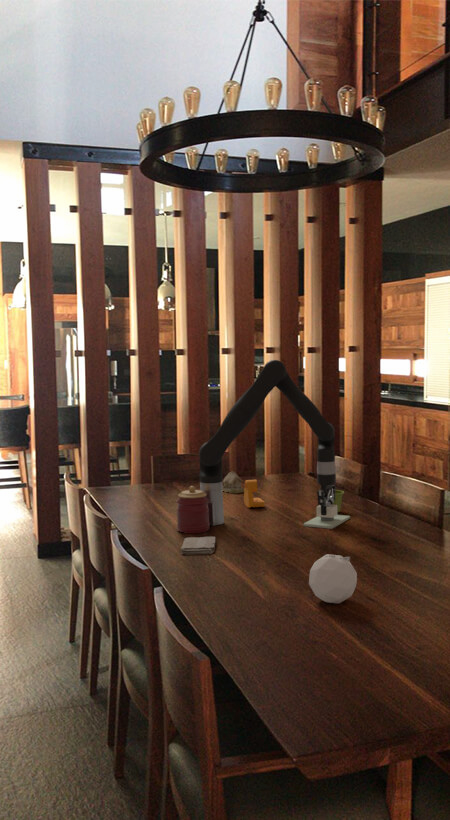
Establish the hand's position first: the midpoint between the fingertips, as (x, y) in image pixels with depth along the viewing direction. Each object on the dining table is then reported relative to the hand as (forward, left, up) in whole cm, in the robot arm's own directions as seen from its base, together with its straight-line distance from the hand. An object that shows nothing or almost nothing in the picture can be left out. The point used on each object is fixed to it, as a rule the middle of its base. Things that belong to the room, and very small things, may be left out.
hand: (327, 513), depth 309 cm
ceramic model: (+46, +69, -4) cm, 83 cm away
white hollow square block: (0, 0, -1) cm, 1 cm away
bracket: (+17, +42, -4) cm, 45 cm away
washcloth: (-55, +27, -4) cm, 62 cm away
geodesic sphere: (-89, -38, -4) cm, 97 cm away
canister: (-33, +43, -4) cm, 54 cm away
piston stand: (0, 0, -4) cm, 4 cm away
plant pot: (+19, +5, -4) cm, 20 cm away
